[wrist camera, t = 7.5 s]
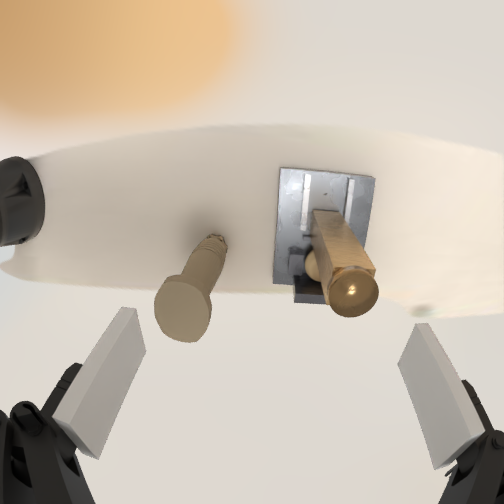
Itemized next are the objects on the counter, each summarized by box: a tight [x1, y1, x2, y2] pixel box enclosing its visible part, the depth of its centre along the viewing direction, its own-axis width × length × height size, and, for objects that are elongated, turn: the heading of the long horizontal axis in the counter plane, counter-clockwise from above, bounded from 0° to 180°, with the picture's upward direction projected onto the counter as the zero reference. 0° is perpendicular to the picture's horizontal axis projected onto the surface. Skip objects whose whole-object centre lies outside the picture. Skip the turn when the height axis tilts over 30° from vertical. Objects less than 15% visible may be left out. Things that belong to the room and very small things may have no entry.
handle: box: [154, 234, 227, 343], centre depth 31 cm, size 5×6×15 cm
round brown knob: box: [305, 250, 321, 282], centre depth 33 cm, size 4×4×4 cm
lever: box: [310, 210, 379, 317], centre depth 26 cm, size 4×4×15 cm
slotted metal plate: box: [273, 167, 375, 304], centre depth 32 cm, size 11×14×6 cm
